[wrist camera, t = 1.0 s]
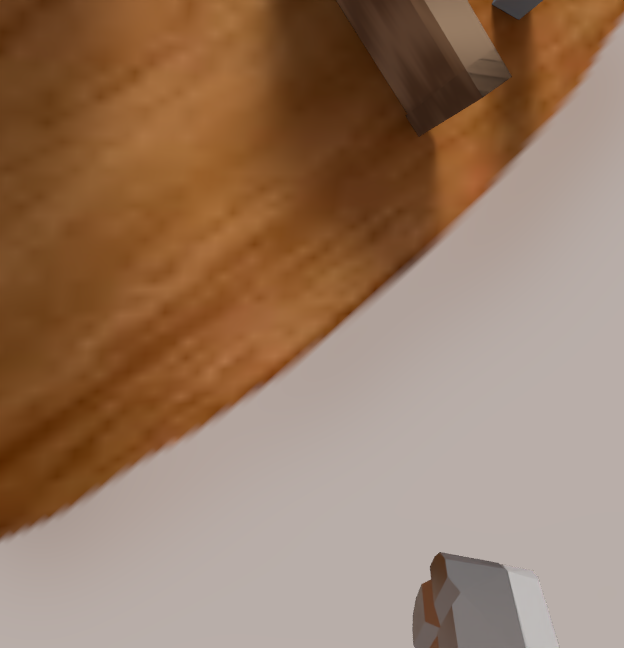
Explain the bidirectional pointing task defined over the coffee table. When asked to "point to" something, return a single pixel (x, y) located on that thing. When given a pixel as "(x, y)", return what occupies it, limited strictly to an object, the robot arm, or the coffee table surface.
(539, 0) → the post
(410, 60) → the wooden gate panel
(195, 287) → the coffee table surface
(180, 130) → the coffee table surface
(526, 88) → the coffee table surface
